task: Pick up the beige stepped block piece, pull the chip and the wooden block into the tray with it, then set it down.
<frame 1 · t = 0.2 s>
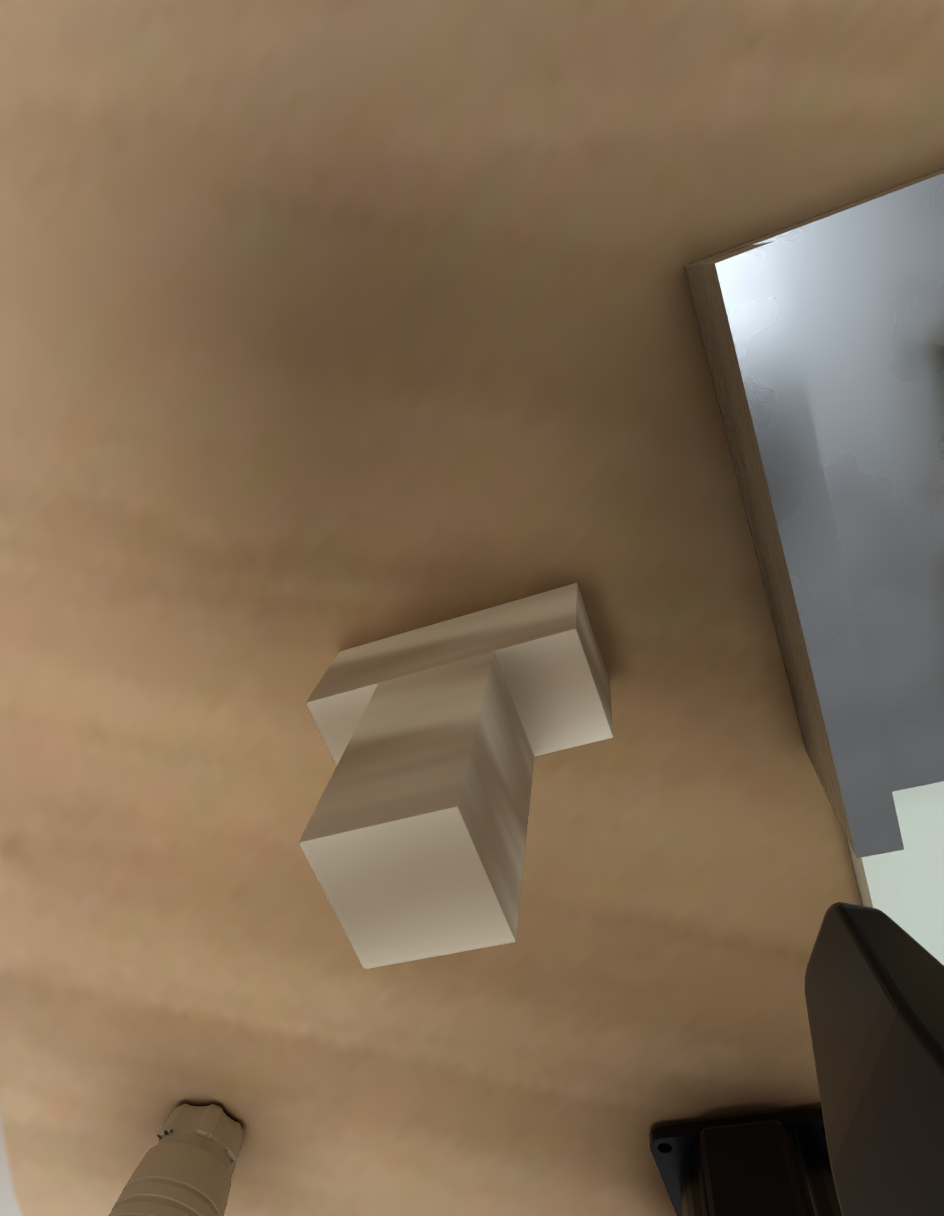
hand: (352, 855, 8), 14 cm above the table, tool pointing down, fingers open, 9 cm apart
handle: (210, 1120, 32), on the table
beige stepped block piece: (472, 665, 22), on the table
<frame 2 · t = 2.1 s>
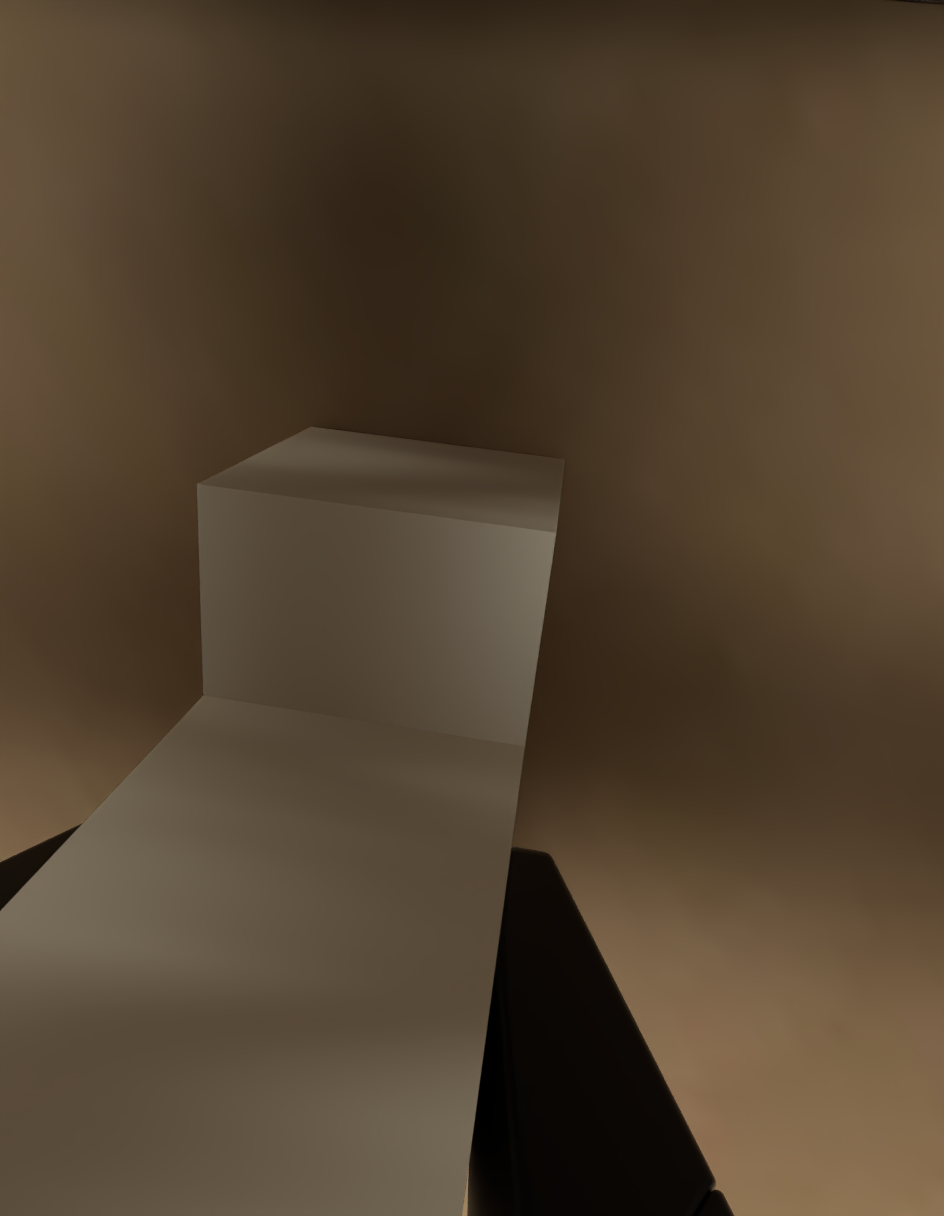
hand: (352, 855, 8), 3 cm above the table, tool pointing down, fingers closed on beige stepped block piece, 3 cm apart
beige stepped block piece: (414, 706, 11), on the table, touching gripper
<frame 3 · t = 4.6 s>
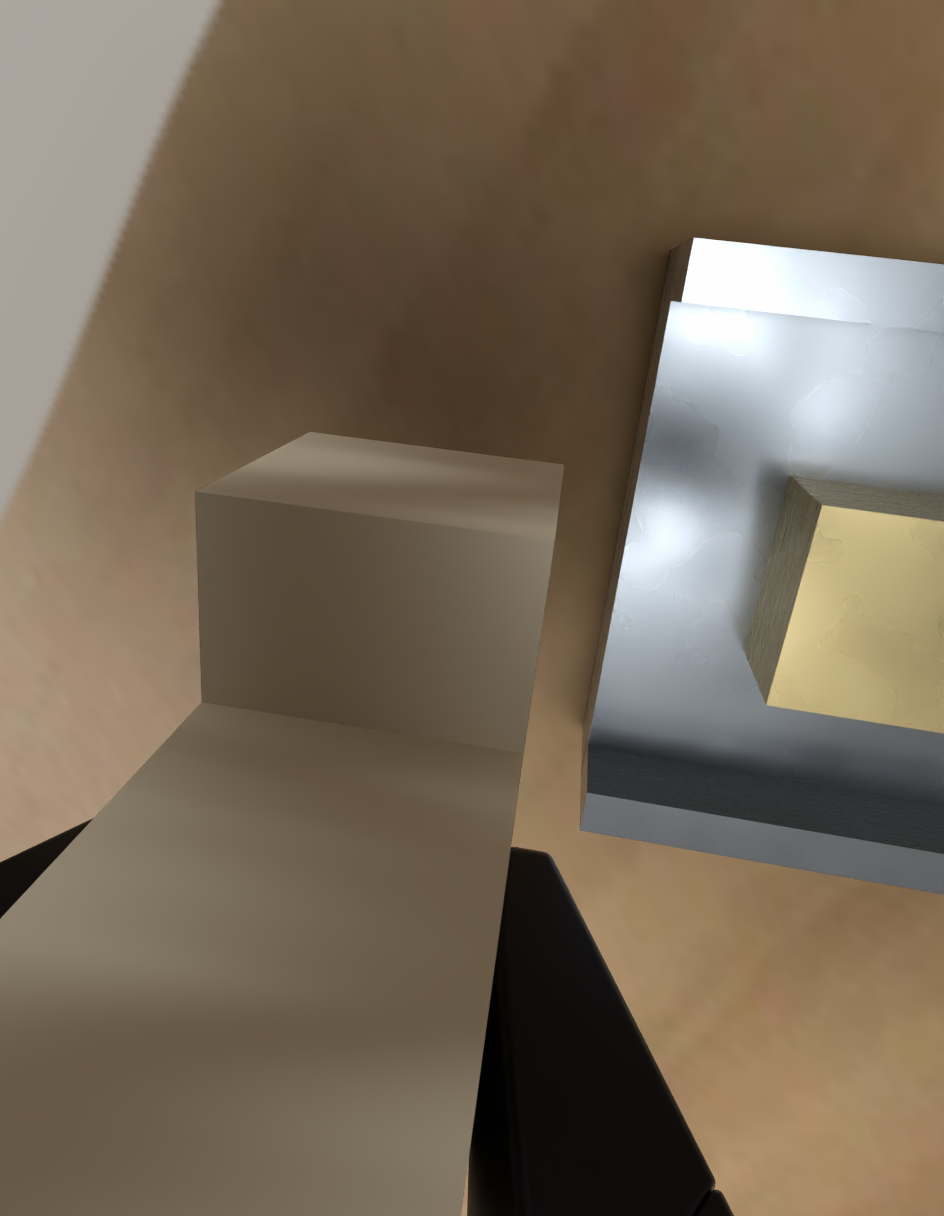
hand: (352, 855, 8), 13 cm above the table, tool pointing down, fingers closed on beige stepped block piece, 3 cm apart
beige stepped block piece: (413, 710, 11), point 10 cm above the table, touching gripper
slot rail: (895, 555, 19), on the table
chip a: (862, 581, 17), point 2 cm above the table, touching slot rail
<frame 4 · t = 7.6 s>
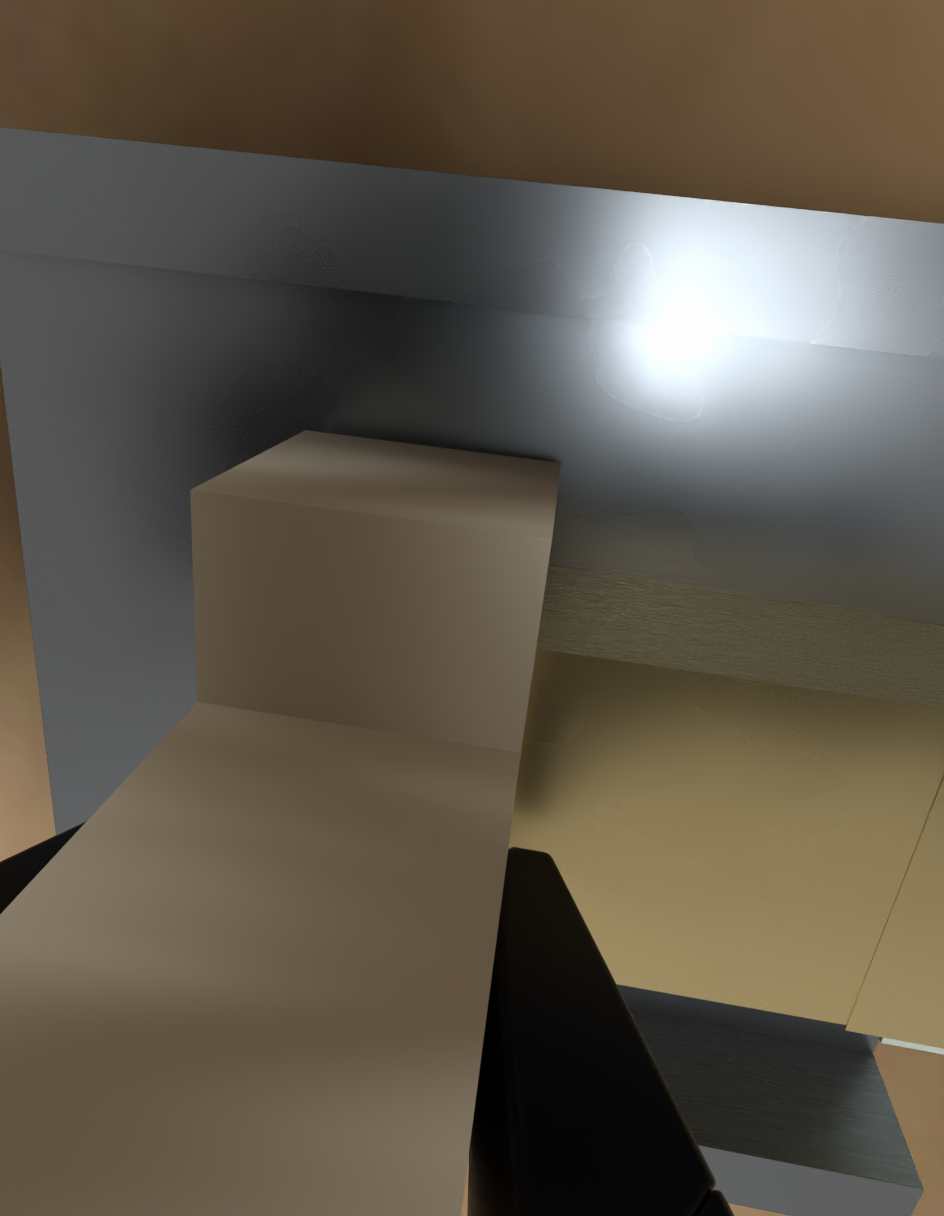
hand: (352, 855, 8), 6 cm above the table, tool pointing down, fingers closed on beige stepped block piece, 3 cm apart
beige stepped block piece: (409, 710, 11), point 3 cm above the table, touching gripper
slot rail: (503, 627, 13), on the table
chip a: (676, 727, 11), point 2 cm above the table, touching wooden block b, slot rail
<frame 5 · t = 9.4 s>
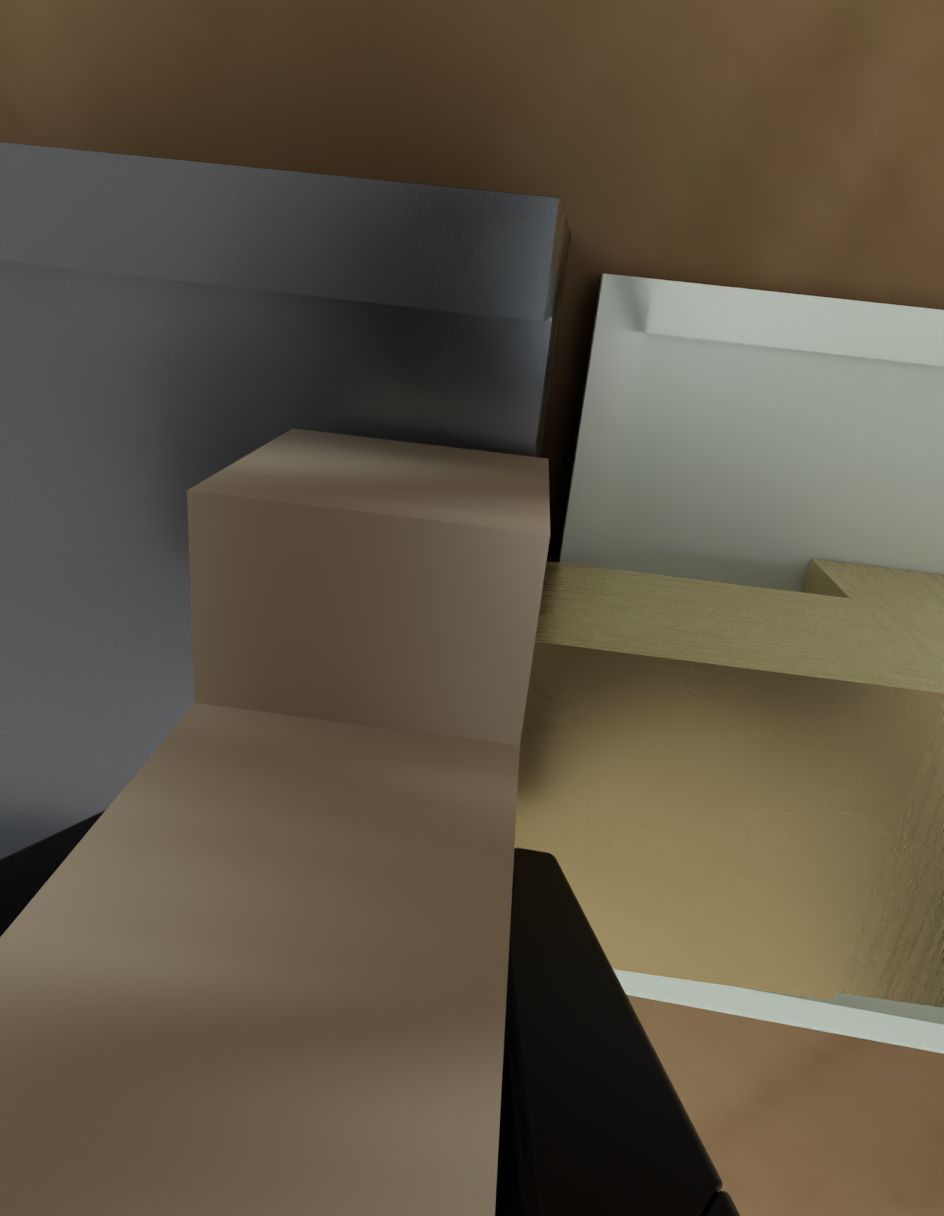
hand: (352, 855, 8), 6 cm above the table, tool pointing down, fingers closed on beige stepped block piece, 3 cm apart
tray: (843, 679, 13), on the table
wooden block b: (818, 752, 10), point 3 cm above the table, tilted 93°, touching chip a, tray
beige stepped block piece: (399, 706, 11), point 3 cm above the table, touching chip a, gripper
slot rail: (143, 575, 14), on the table
chip a: (661, 717, 11), point 2 cm above the table, touching wooden block b, beige stepped block piece
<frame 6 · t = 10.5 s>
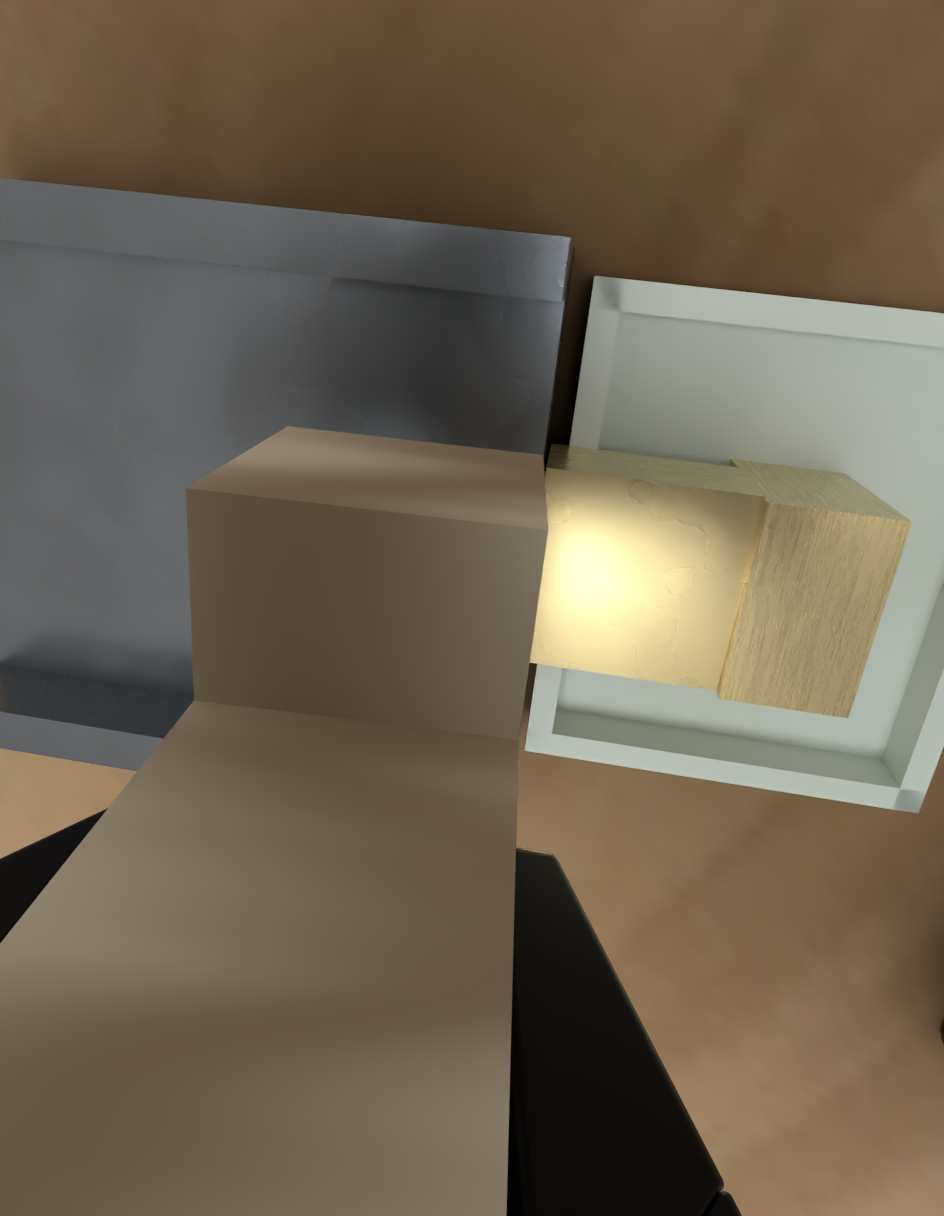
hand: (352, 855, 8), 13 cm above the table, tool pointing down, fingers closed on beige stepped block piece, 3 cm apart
tray: (756, 546, 19), on the table
wooden block b: (724, 571, 17), point 3 cm above the table, tilted 90°, touching chip a, tray
beige stepped block piece: (396, 702, 11), point 10 cm above the table, touching gripper
slot rail: (281, 482, 20), on the table
chip a: (628, 545, 18), point 2 cm above the table, touching wooden block b, tray
when the fingers open (4 cm above the table, at t = 13.4 s): beige stepped block piece drops 1 cm, on the table.
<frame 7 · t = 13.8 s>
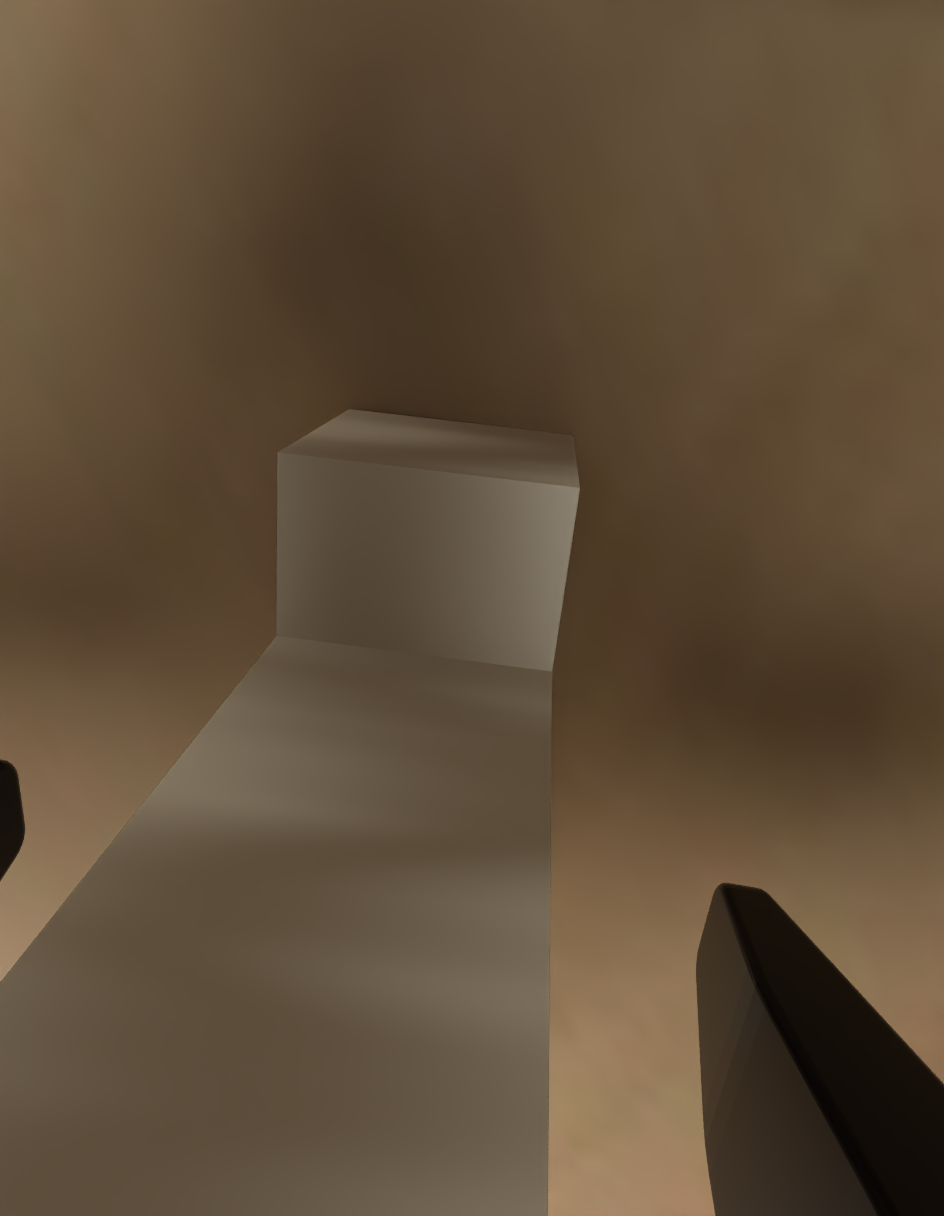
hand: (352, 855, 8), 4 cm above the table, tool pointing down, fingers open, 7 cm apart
beige stepped block piece: (439, 658, 12), on the table
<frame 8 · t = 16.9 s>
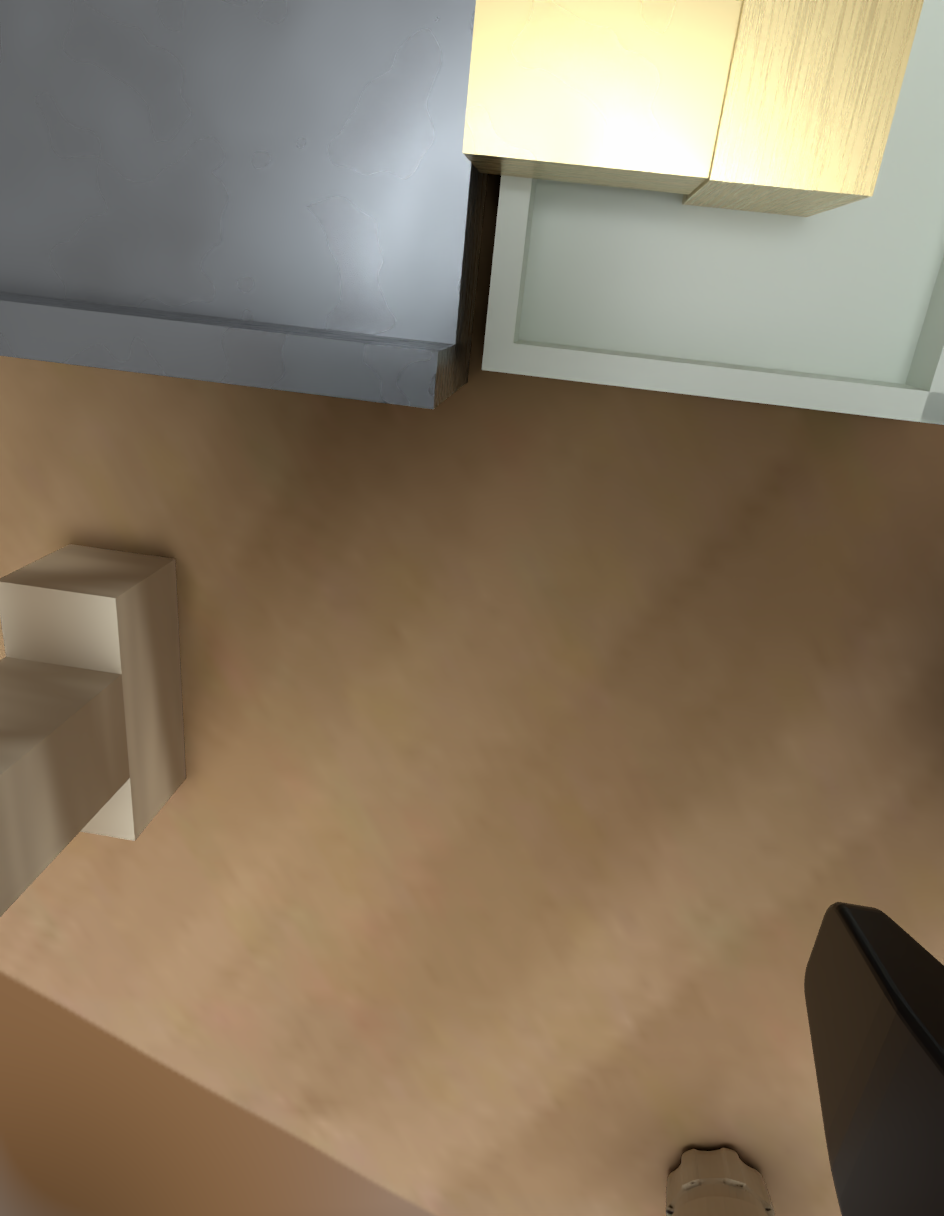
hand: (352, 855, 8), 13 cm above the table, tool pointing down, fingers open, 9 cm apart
tray: (756, 104, 16), on the table
handle: (713, 1167, 28), on the table
wooden block b: (718, 63, 14), point 3 cm above the table, tilted 90°, touching chip a, tray
beige stepped block piece: (131, 666, 23), on the table
slot rail: (192, 55, 17), on the table
chip a: (601, 60, 15), point 2 cm above the table, touching wooden block b, tray
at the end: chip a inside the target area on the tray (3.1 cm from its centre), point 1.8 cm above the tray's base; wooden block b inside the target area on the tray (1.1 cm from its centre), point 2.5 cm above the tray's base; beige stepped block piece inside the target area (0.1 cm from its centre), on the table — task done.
